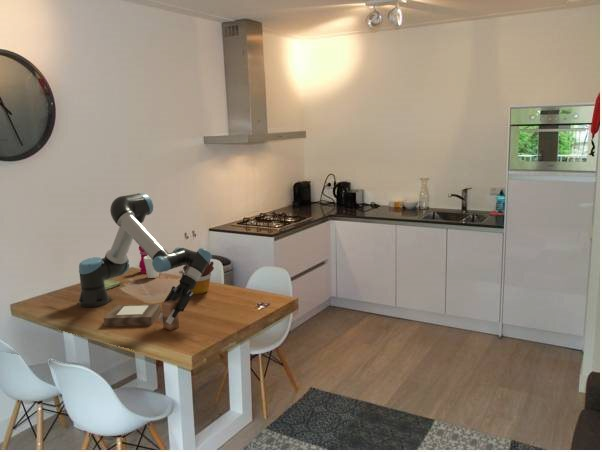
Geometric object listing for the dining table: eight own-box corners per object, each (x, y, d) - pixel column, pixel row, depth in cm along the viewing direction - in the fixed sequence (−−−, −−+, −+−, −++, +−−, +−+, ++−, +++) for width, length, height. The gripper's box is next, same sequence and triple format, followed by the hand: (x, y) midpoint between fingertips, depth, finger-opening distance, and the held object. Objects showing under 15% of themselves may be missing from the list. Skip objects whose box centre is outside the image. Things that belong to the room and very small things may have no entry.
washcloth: (105, 291, 300) (105, 286, 300) (84, 287, 309) (83, 282, 308) (123, 285, 312) (122, 280, 311) (101, 281, 320) (101, 276, 319)
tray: (104, 326, 247) (103, 317, 246) (116, 312, 264) (115, 304, 264) (151, 324, 247) (151, 316, 246) (160, 311, 265) (160, 303, 264)
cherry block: (170, 330, 240) (168, 305, 238) (163, 327, 243) (161, 302, 241) (179, 326, 244) (177, 302, 242) (172, 324, 247) (170, 299, 245)
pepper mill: (141, 270, 341) (138, 240, 337) (152, 270, 342) (150, 240, 338) (138, 273, 334) (136, 243, 330) (150, 273, 335) (147, 242, 331)
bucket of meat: (174, 293, 294) (172, 258, 290) (195, 285, 308) (193, 252, 304) (202, 298, 284) (200, 262, 280) (221, 290, 298) (220, 255, 294)
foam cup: (146, 280, 319) (145, 259, 317) (143, 276, 327) (142, 256, 325) (162, 278, 323) (161, 257, 321) (159, 274, 332) (157, 254, 329)
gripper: (207, 285, 246) (181, 330, 237) (182, 279, 258) (157, 321, 248) (198, 277, 241) (171, 322, 232) (173, 271, 252) (146, 313, 243)
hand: (164, 321), depth 240 cm, fingers closed on cherry block, 5 cm apart
